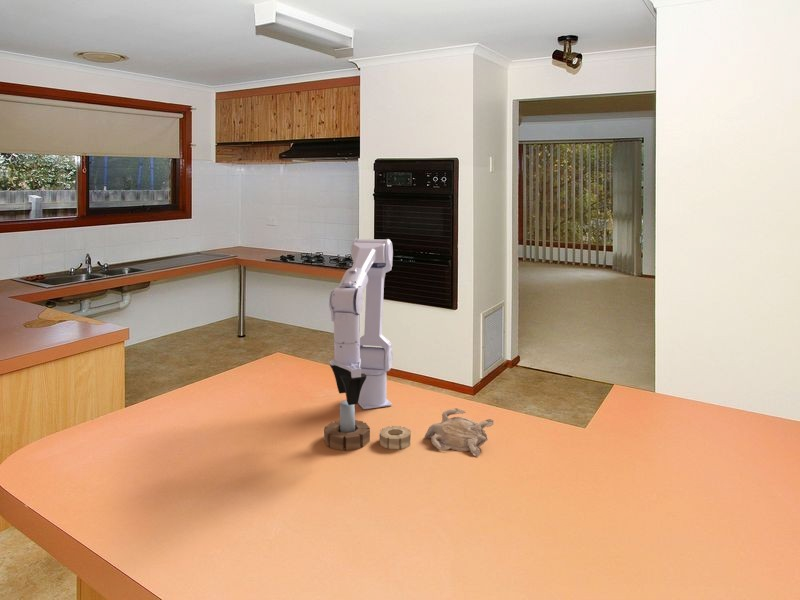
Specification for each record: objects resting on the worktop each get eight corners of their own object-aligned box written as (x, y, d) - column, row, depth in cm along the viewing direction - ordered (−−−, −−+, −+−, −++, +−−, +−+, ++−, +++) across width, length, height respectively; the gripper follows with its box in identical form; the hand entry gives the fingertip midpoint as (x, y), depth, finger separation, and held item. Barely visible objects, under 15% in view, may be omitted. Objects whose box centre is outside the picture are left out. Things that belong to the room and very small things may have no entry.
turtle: (491, 453, 140) (491, 409, 141) (496, 457, 130) (496, 410, 132) (424, 450, 140) (425, 406, 142) (424, 454, 131) (425, 407, 133)
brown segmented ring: (320, 435, 141) (320, 423, 141) (361, 428, 145) (361, 417, 144) (331, 453, 132) (331, 440, 132) (374, 445, 136) (374, 433, 135)
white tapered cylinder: (338, 438, 140) (337, 402, 138) (352, 436, 141) (351, 399, 139) (343, 444, 137) (342, 407, 135) (357, 441, 138) (356, 404, 136)
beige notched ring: (373, 441, 138) (373, 431, 137) (396, 433, 142) (396, 423, 142) (393, 452, 133) (393, 441, 132) (416, 443, 137) (416, 432, 137)
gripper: (321, 334, 139) (323, 389, 142) (338, 351, 126) (339, 412, 129) (351, 331, 142) (351, 386, 145) (370, 347, 129) (370, 407, 131)
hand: (348, 398), depth 137 cm, fingers open, 7 cm apart
